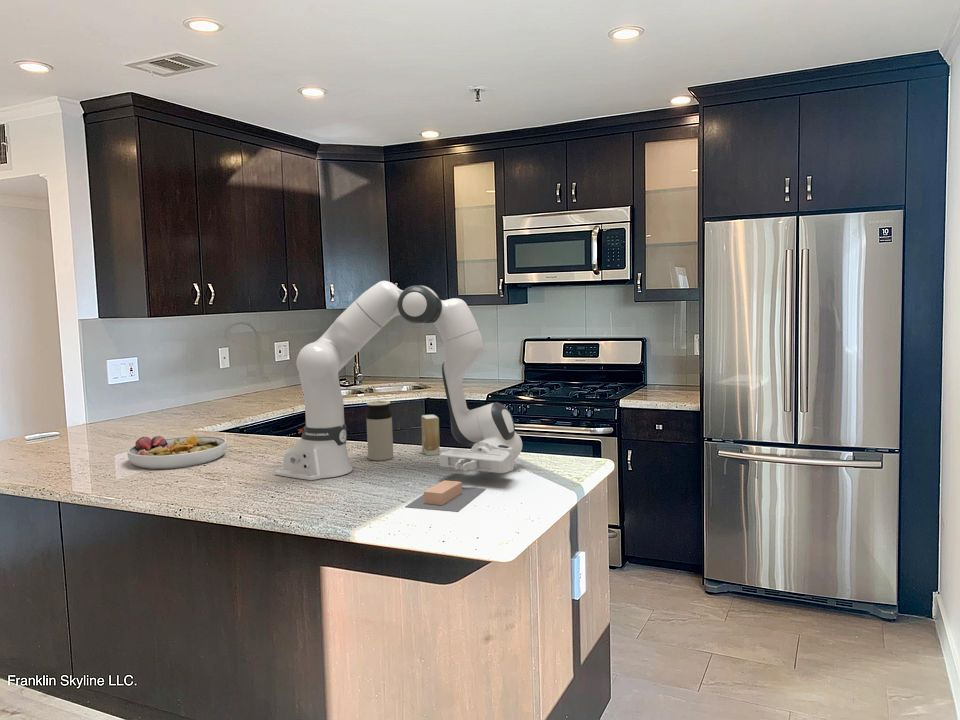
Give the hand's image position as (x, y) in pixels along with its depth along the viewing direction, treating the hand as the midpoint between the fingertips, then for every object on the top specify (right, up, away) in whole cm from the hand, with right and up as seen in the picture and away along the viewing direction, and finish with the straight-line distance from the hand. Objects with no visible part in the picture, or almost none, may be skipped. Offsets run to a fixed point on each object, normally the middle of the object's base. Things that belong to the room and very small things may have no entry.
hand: (459, 467), depth 186 cm
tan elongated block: (-2, -5, -2) cm, 5 cm away
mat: (-3, -7, -6) cm, 10 cm away
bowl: (-93, -5, +47) cm, 104 cm away
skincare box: (-11, -2, +45) cm, 46 cm away
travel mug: (-26, -3, +40) cm, 48 cm away
